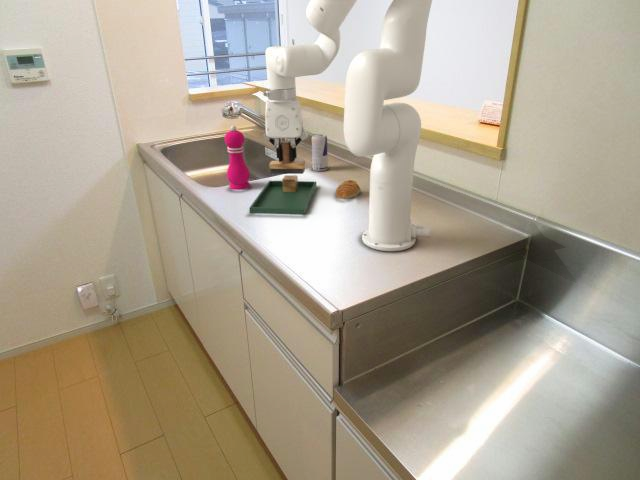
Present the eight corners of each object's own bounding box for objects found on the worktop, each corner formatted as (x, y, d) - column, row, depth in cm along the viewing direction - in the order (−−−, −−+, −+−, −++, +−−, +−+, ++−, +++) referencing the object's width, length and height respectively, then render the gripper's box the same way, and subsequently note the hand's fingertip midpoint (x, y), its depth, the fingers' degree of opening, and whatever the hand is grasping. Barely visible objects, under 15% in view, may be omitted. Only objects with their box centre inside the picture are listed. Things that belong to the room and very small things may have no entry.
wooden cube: (298, 187, 141) (297, 175, 139) (295, 192, 137) (295, 179, 135) (285, 187, 141) (284, 175, 140) (282, 191, 138) (282, 179, 136)
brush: (305, 170, 133) (303, 140, 130) (303, 173, 130) (301, 142, 127) (272, 170, 135) (270, 140, 131) (269, 173, 132) (267, 143, 128)
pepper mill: (253, 185, 147) (247, 122, 138) (248, 192, 140) (241, 127, 132) (231, 184, 148) (224, 123, 139) (225, 192, 141) (217, 128, 132)
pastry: (353, 202, 130) (353, 190, 129) (331, 200, 132) (331, 188, 131) (361, 191, 138) (361, 179, 137) (340, 190, 140) (339, 178, 139)
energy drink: (330, 168, 161) (329, 134, 156) (322, 172, 157) (321, 138, 152) (317, 166, 164) (316, 133, 159) (309, 170, 160) (308, 136, 155)
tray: (316, 188, 142) (316, 181, 141) (304, 217, 121) (304, 209, 120) (269, 187, 144) (269, 180, 143) (250, 215, 123) (249, 207, 122)
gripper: (249, 97, 121) (256, 164, 129) (309, 96, 119) (312, 164, 127) (257, 93, 128) (263, 157, 136) (313, 92, 126) (316, 157, 133)
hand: (287, 160), depth 131 cm, fingers closed on brush, 2 cm apart
